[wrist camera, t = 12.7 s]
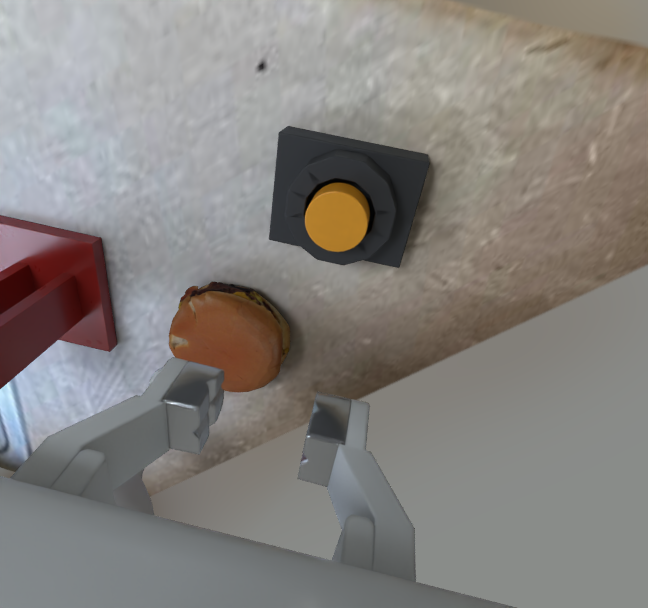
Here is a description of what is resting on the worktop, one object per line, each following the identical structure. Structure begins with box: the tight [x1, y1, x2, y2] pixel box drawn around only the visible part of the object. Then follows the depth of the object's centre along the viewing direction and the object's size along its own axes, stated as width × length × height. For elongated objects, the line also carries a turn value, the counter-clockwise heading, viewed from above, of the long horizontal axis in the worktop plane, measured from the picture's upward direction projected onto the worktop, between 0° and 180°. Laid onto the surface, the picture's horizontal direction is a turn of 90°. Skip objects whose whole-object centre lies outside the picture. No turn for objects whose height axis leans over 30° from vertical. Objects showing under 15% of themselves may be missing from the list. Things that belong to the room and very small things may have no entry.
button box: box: [269, 126, 430, 268], centre depth 26 cm, size 7×9×4 cm
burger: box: [169, 282, 290, 392], centre depth 33 cm, size 10×9×5 cm
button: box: [305, 183, 370, 252], centre depth 24 cm, size 4×4×2 cm
